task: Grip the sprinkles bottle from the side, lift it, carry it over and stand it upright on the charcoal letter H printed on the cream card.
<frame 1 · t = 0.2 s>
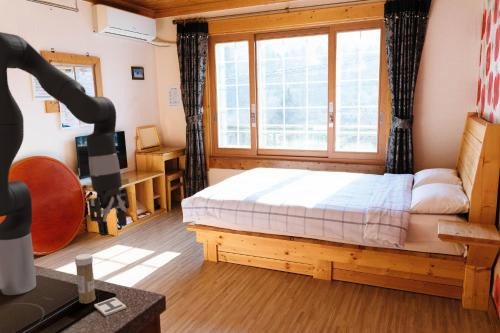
hand: (114, 230, 109), 22 cm above the counter, tool pointing down, fingers open, 8 cm apart
sprinkles bottle: (87, 300, 115), on the counter
letter card: (110, 307, 111), on the counter
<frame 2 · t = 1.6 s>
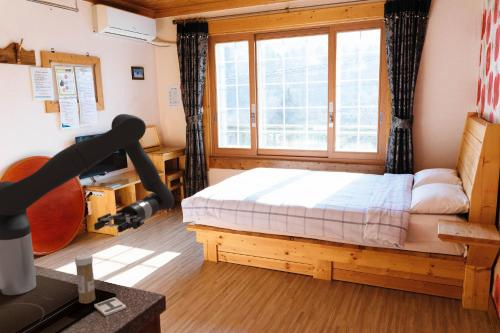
hand: (106, 228, 122), 18 cm above the counter, tool horizontal, fingers open, 8 cm apart
nothing on the counter moved.
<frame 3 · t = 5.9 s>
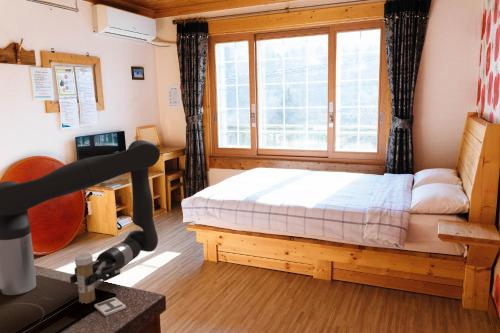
hand: (79, 281, 111), 7 cm above the counter, tool horizontal, fingers closed on sprinkles bottle, 4 cm apart
sprinkles bottle: (87, 300, 115), on the counter, touching gripper
when the fingers open (9 cm above the counter, at t = 10.6 s): sprinkles bottle drops 1 cm, resting on letter card.
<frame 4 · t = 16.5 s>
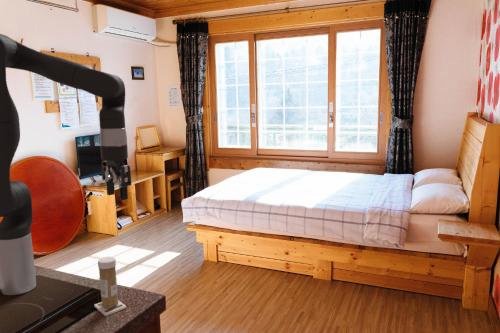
hand: (117, 197, 120), 28 cm above the counter, tool pointing down, fingers open, 8 cm apart
sprinkles bottle: (110, 305, 111), resting on letter card
at the end: sprinkles bottle 0.2 cm off-centre on the letter card, point 0.4 cm above the letter card's base; sprinkles bottle tilted 0°; the gripper is holding nothing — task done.
